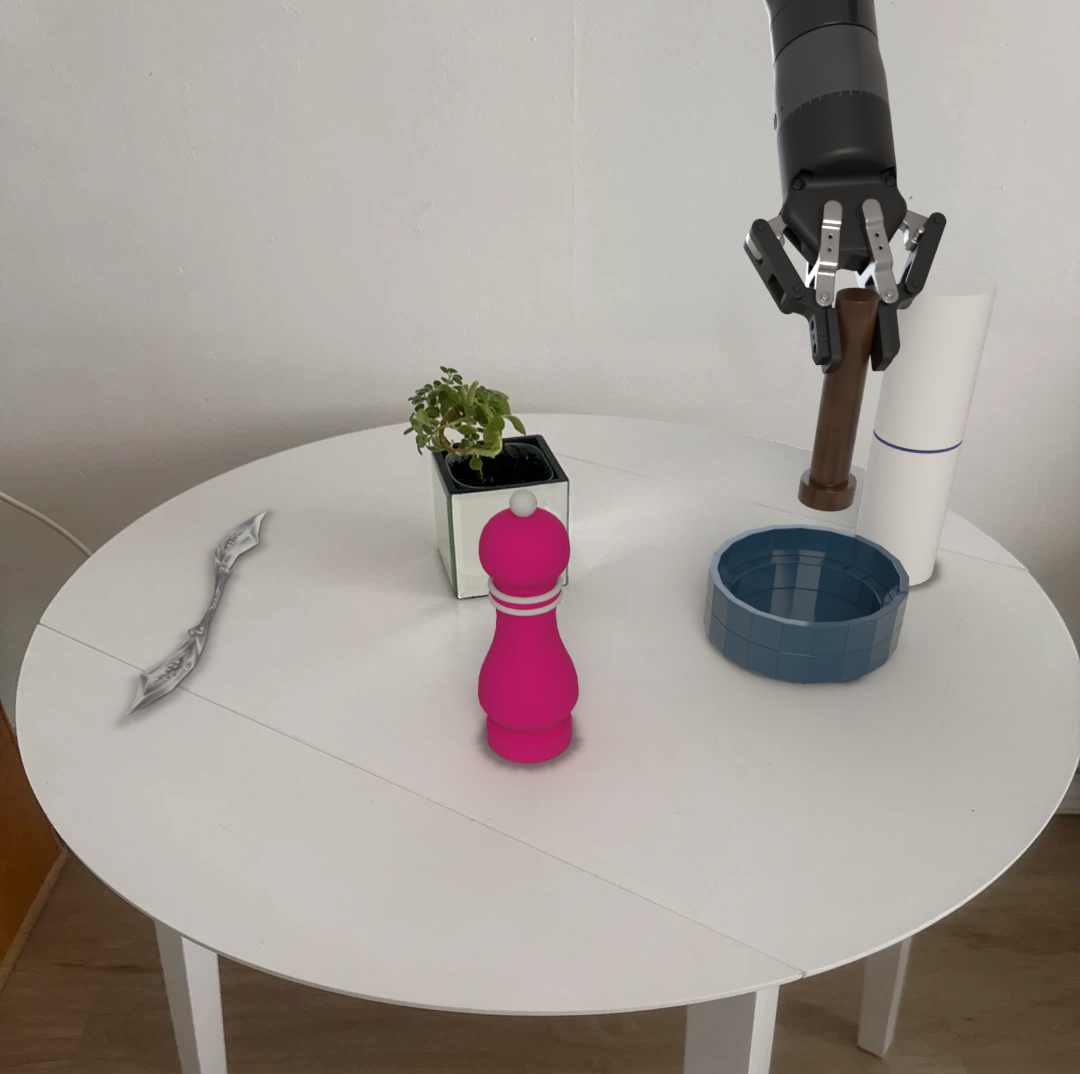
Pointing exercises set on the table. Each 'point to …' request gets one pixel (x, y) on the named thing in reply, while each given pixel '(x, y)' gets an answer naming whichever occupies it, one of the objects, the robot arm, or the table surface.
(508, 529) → the pepper mill
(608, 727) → the table surface
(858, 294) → the brown flanged cylinder
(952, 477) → the cylindrical container
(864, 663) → the bowl
